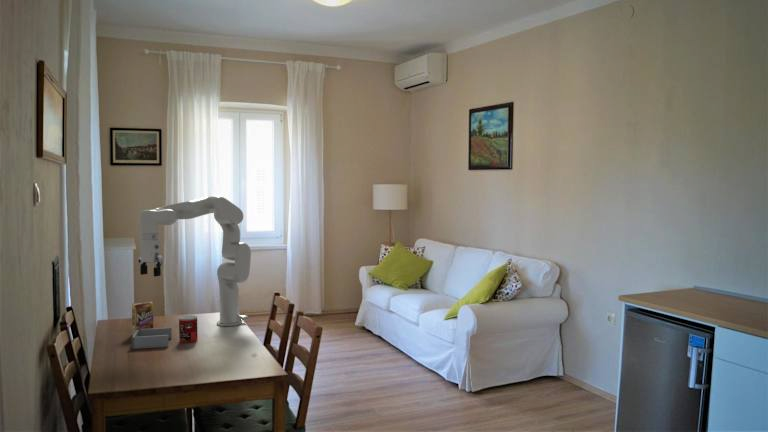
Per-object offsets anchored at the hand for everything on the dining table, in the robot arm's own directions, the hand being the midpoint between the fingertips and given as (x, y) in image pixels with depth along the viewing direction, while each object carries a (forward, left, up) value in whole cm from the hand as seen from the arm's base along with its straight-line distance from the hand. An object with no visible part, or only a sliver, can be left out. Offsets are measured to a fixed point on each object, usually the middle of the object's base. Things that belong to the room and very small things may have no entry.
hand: (150, 275), depth 264 cm
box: (0, +1, -31) cm, 31 cm away
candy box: (+6, -17, -31) cm, 36 cm away
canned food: (-16, +1, -31) cm, 35 cm away
